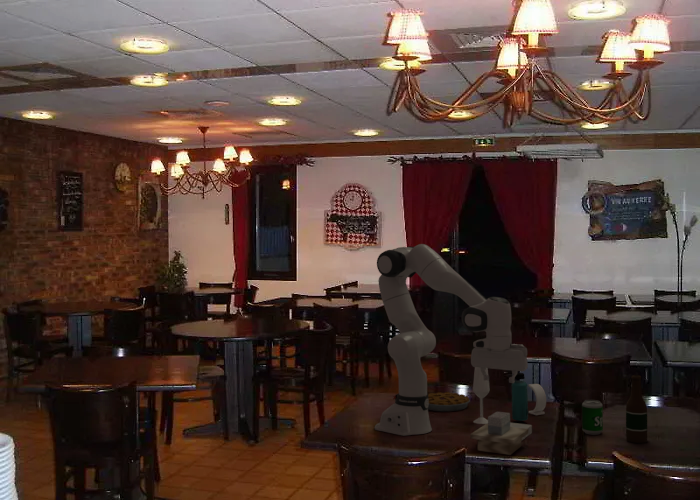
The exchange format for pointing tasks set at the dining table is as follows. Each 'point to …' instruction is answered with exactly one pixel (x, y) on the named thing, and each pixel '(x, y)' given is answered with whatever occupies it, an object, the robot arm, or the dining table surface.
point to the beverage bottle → (519, 399)
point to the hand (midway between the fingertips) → (498, 381)
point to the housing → (499, 423)
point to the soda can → (592, 417)
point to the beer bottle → (636, 414)
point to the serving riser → (499, 440)
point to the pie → (447, 401)
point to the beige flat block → (522, 427)
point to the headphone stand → (538, 399)
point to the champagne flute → (480, 391)
